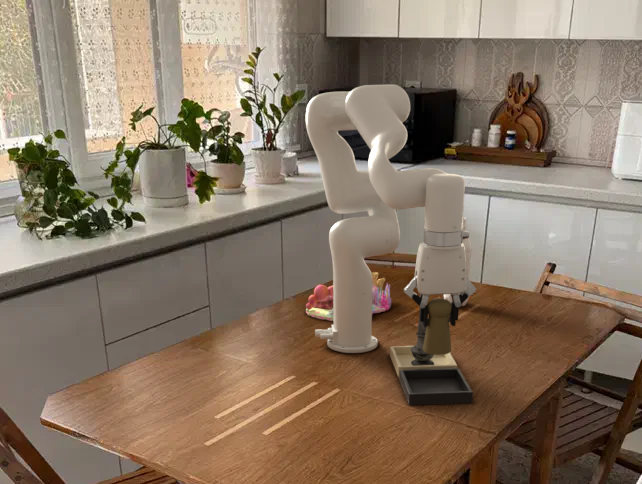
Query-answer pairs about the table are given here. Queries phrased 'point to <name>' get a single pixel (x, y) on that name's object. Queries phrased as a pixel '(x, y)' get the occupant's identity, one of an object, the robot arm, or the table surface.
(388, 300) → the candy landscape model
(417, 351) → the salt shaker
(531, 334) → the table surface
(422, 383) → the charcoal tray
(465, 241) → the water bottle
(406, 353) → the cream tray
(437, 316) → the cork
